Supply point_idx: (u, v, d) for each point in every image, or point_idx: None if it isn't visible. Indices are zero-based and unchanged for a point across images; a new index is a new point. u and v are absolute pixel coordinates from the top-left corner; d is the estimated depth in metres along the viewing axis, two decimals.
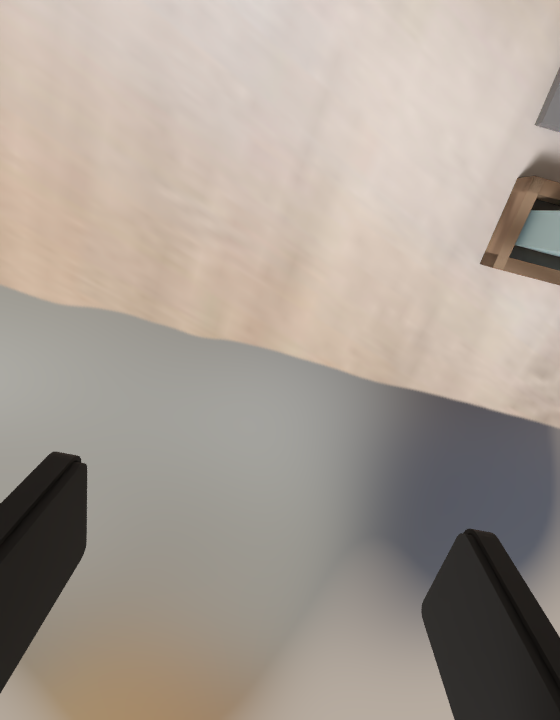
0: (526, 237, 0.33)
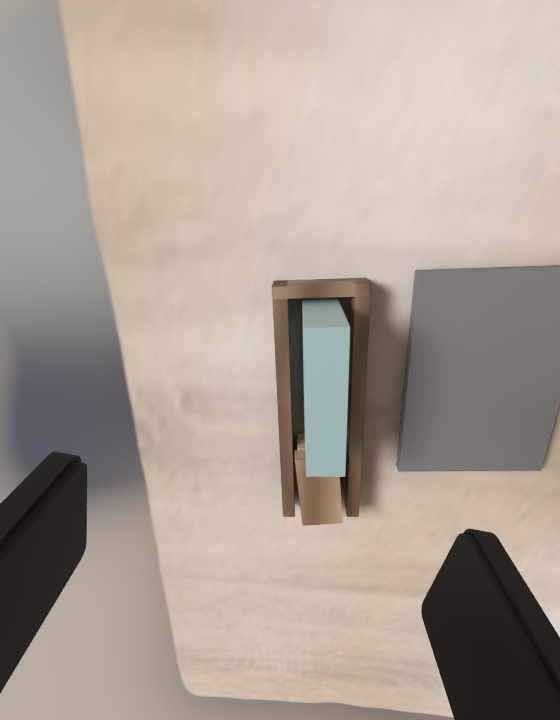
0: (310, 305, 0.30)
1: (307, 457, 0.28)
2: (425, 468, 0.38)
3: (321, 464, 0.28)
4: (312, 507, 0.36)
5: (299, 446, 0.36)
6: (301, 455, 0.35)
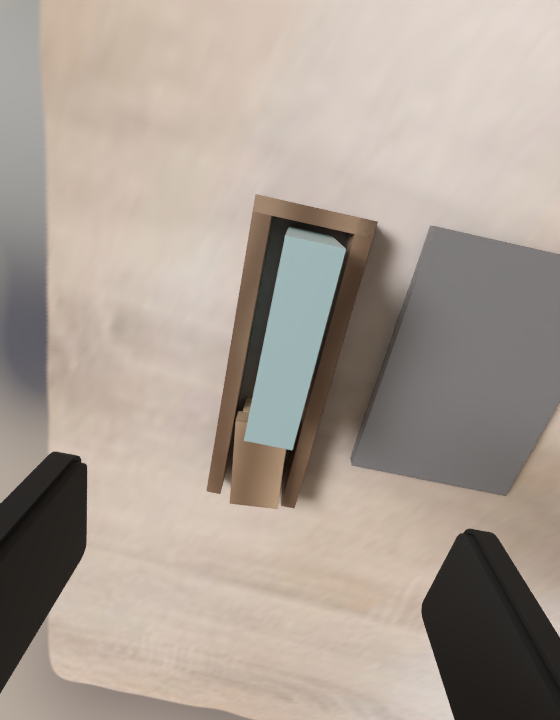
0: (298, 230, 0.23)
1: (250, 415, 0.22)
2: (382, 468, 0.32)
3: (266, 428, 0.22)
4: (245, 483, 0.30)
5: (246, 409, 0.29)
6: (245, 417, 0.28)
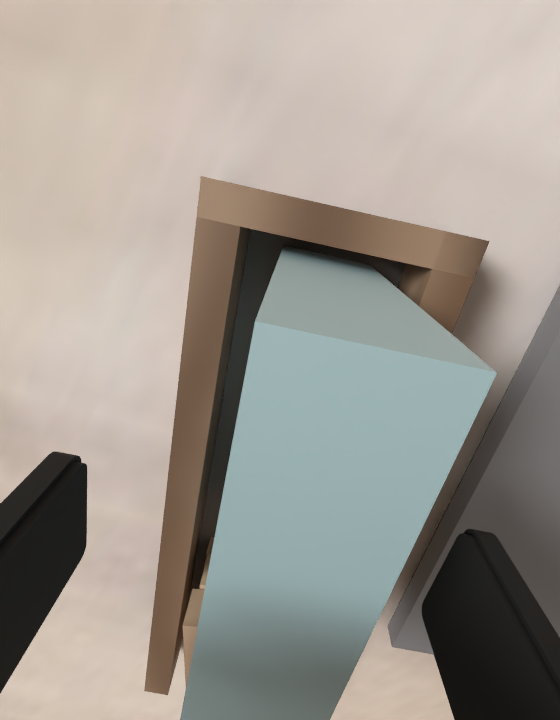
0: (304, 261, 0.10)
1: None
2: None
3: None
4: None
5: None
6: None
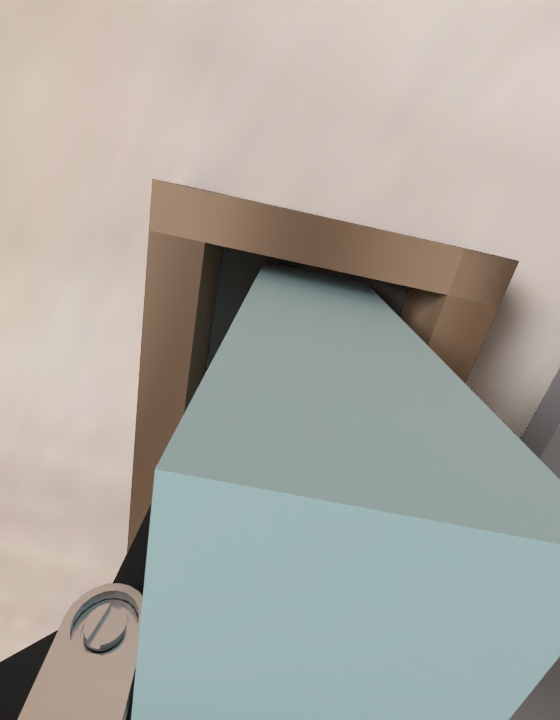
0: (286, 287, 0.08)
1: None
2: None
3: None
4: None
5: None
6: None
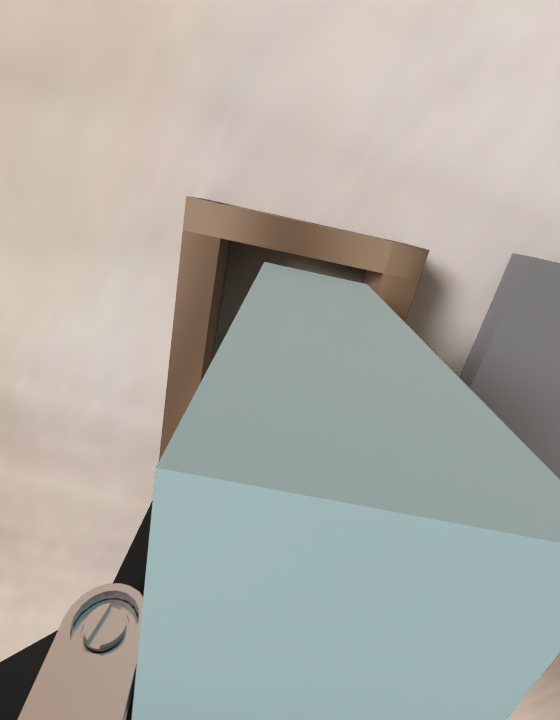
0: (286, 287, 0.08)
1: None
2: None
3: None
4: None
5: None
6: None
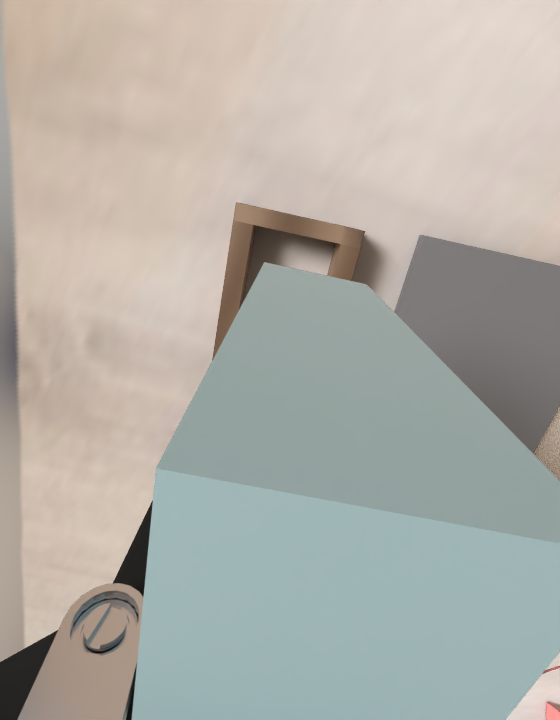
0: (286, 287, 0.08)
1: None
2: None
3: None
4: None
5: None
6: None
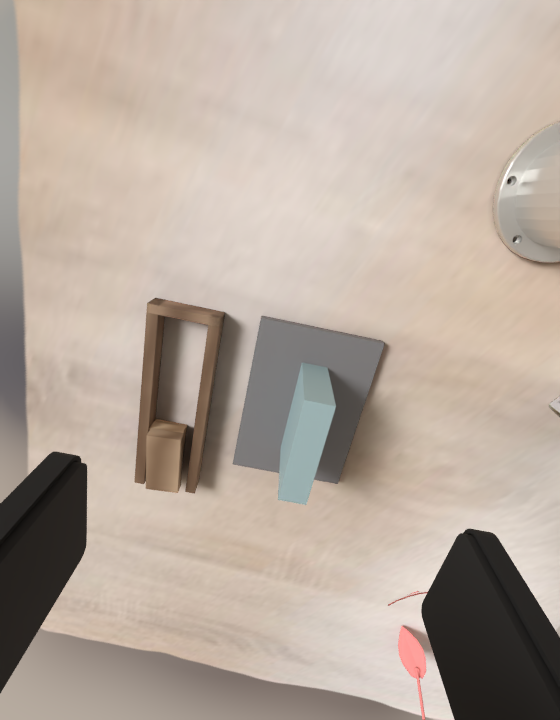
0: (308, 374, 0.40)
1: (282, 486, 0.38)
2: (253, 466, 0.48)
3: (291, 493, 0.38)
4: (155, 475, 0.46)
5: (152, 427, 0.45)
6: (153, 433, 0.44)
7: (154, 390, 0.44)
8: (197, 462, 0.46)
